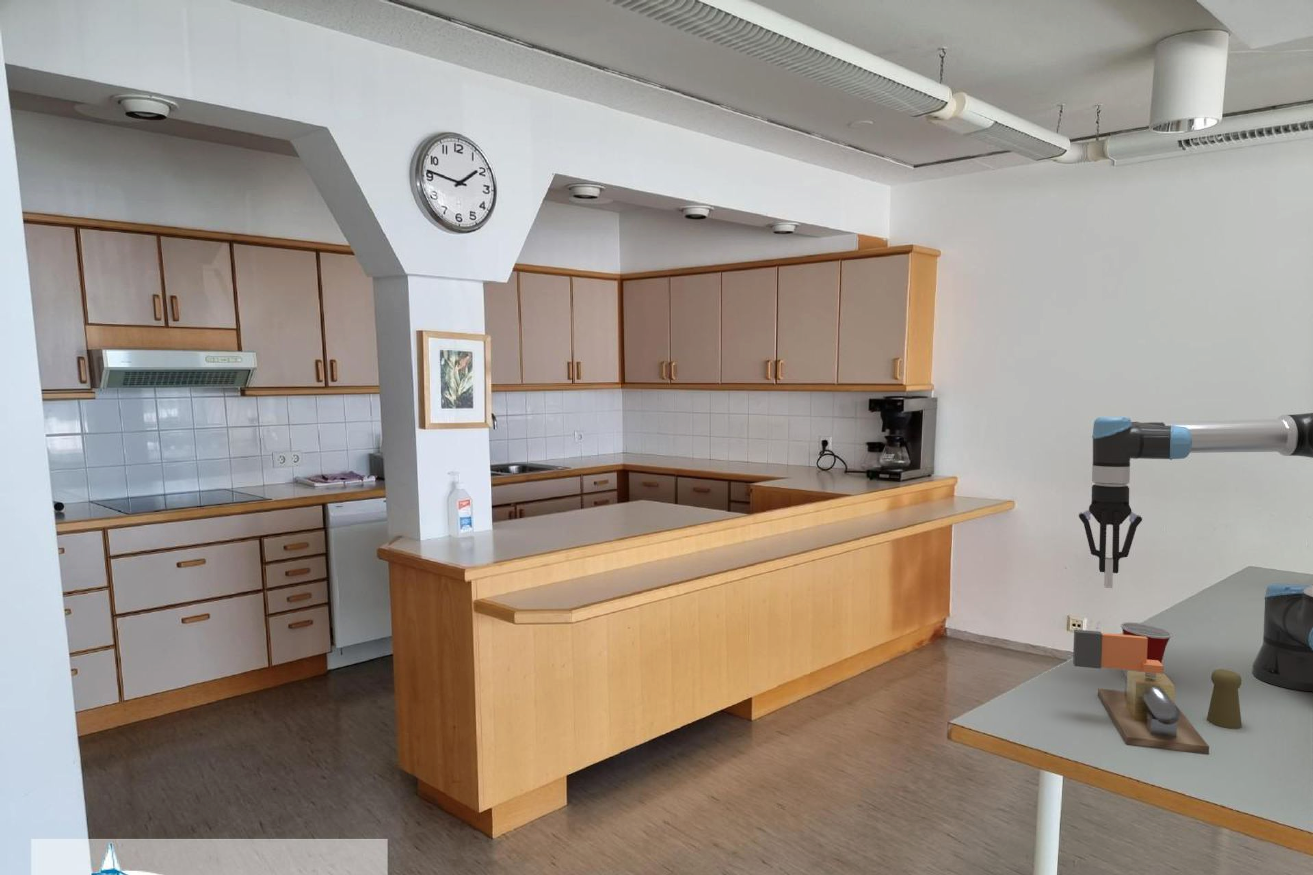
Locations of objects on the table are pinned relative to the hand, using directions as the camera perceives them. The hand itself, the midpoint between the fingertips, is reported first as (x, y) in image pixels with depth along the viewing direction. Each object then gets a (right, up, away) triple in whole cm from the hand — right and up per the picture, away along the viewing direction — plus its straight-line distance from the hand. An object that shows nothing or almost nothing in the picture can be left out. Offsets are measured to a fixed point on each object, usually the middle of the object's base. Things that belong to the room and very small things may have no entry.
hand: (1108, 586), depth 186 cm
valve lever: (-7, -15, -15) cm, 23 cm away
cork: (+15, -26, -17) cm, 34 cm away
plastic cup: (+14, -24, +10) cm, 29 cm away
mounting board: (-1, -25, -16) cm, 30 cm away
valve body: (-1, -24, -16) cm, 29 cm away
